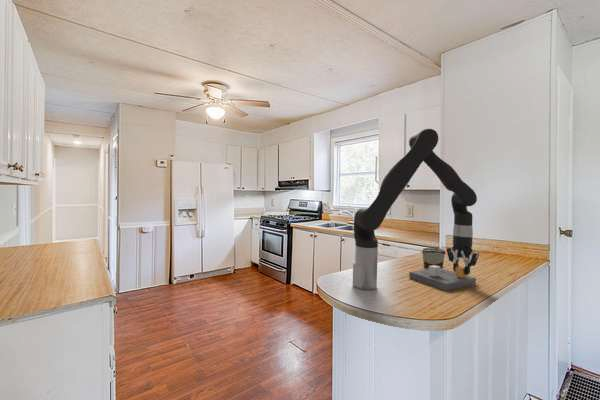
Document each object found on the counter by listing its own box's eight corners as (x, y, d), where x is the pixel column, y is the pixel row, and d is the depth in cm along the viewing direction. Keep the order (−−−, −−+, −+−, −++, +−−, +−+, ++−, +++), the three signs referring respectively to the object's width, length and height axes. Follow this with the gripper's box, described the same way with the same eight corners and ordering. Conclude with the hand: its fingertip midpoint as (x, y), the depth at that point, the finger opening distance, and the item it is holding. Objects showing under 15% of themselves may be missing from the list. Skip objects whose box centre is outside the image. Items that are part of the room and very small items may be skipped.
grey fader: (434, 276, 122) (434, 267, 122) (428, 274, 125) (428, 266, 125) (440, 275, 124) (440, 266, 124) (434, 273, 127) (434, 265, 127)
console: (446, 291, 114) (446, 283, 114) (409, 278, 131) (409, 271, 131) (475, 284, 123) (475, 277, 123) (437, 273, 140) (437, 267, 140)
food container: (440, 266, 154) (441, 248, 154) (445, 269, 148) (446, 250, 148) (417, 265, 156) (418, 247, 155) (421, 268, 150) (422, 249, 149)
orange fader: (461, 277, 121) (462, 268, 121) (455, 275, 124) (455, 266, 124) (467, 276, 123) (467, 267, 123) (460, 274, 126) (461, 266, 126)
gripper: (442, 233, 128) (441, 270, 128) (473, 237, 115) (472, 278, 116) (452, 232, 131) (451, 268, 132) (484, 236, 119) (482, 276, 119)
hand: (461, 272), depth 124 cm, fingers open, 4 cm apart
